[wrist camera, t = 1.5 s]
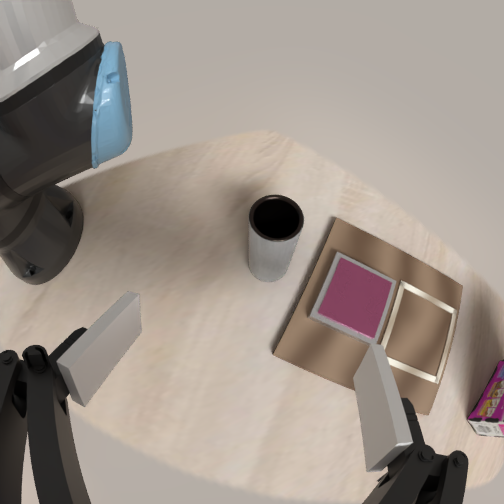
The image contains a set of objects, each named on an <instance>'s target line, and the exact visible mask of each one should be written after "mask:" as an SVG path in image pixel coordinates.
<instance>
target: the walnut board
mask: <svg viewBox="0 0 504 504" xmlns="http://www.w3.org/2000/svg"><path fill="white" fill-rule="evenodd" d="M337 252H339V253H341V254H343V255H345V256H347V257H349V258H351V259H353V260H356V261H358V262H360V263H362V264H364V265H366V266H368V267H370V268H372V269H374V270H376V271H378V272H379V273H381V274H383V275H385V276H387V277H389V278H391V279H393V280H395V281H396V285H395V289H394V292H393V295H392V299H391V302H390V305H389V308H388V312H387V315H386V318H385V321H384V324H383V327H382V329H381V332H380V335H379V338H378V341H377V343H376V344H378V345H383V347H384V350H385V353H386V356H387V358H388V361H389V364H390V367H391V370H392V373H393V376H394V379H395V382H396V385H397V388H398V391H399V394H400V398H408V399H409V400H410V402H411V403H412V404H413V406H414V409H415V412H417V413H420V414H423V415H429V413H430V410H431V408H432V405H433V403H434V400H435V397H436V394H437V392H438V389H439V386H440V383H441V380H442V377H443V374H444V370H445V367H446V364H447V360H448V357H449V353H450V349H451V345H452V341H453V337H454V333H455V328H456V323H457V318H458V313H459V308H460V302H461V295H462V289H463V286H462V285H460V284H459V283H457V282H455V281H454V280H452V279H450V278H449V277H447V276H445V275H444V274H442V273H440V272H439V271H437V270H435V269H433V268H432V267H430V266H428V265H426V264H425V263H423V262H421V261H419V260H417V259H416V258H414V257H412V256H410V255H408V254H407V253H405V252H403V251H401V250H399V249H397V248H395V247H394V246H392V245H390V244H388V243H386V242H384V241H382V240H380V239H378V238H376V237H374V236H372V235H370V234H368V233H366V232H364V231H362V230H360V229H358V228H356V227H354V226H352V225H350V224H348V223H346V222H344V221H342V220H340V219H338V218H336V220H335V221H334V224H333V226H332V229H331V231H330V233H329V236H328V238H327V241H326V243H325V245H324V248H323V250H322V252H321V254H320V257H319V259H318V261H317V264H316V266H315V268H314V270H313V273H312V275H311V277H310V279H309V281H308V283H307V286H306V288H305V290H304V292H303V294H302V296H301V299H300V301H299V303H298V305H297V307H296V309H295V311H294V313H293V315H292V317H291V319H290V321H289V323H288V325H287V327H286V329H285V331H284V333H283V335H282V337H281V339H280V341H279V343H278V345H277V347H276V349H275V351H274V353H273V355H274V356H276V357H278V358H281V359H283V360H285V361H287V362H289V363H291V364H293V365H296V366H298V367H300V368H302V369H304V370H307V371H309V372H311V373H314V374H316V375H318V376H320V377H323V378H325V379H327V380H330V381H332V382H335V383H337V384H340V385H342V386H344V387H347V388H349V389H352V390H355V386H354V380H353V377H354V375H355V373H356V371H357V370H358V368H359V366H360V364H361V362H362V360H363V358H364V356H365V354H366V352H367V350H368V348H369V346H367V345H365V344H363V343H361V342H358V341H356V340H354V339H352V338H350V337H347V336H345V335H343V334H341V333H339V332H336V331H334V330H332V329H330V328H328V327H326V326H324V325H321V324H319V323H317V322H315V321H313V320H311V319H309V318H308V315H309V313H310V311H311V309H312V307H313V304H314V302H315V300H316V298H317V296H318V293H319V291H320V289H321V286H322V284H323V282H324V279H325V277H326V275H327V272H328V270H329V268H330V265H331V263H332V260H333V258H334V256H335V254H336V253H337Z"/></svg>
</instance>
